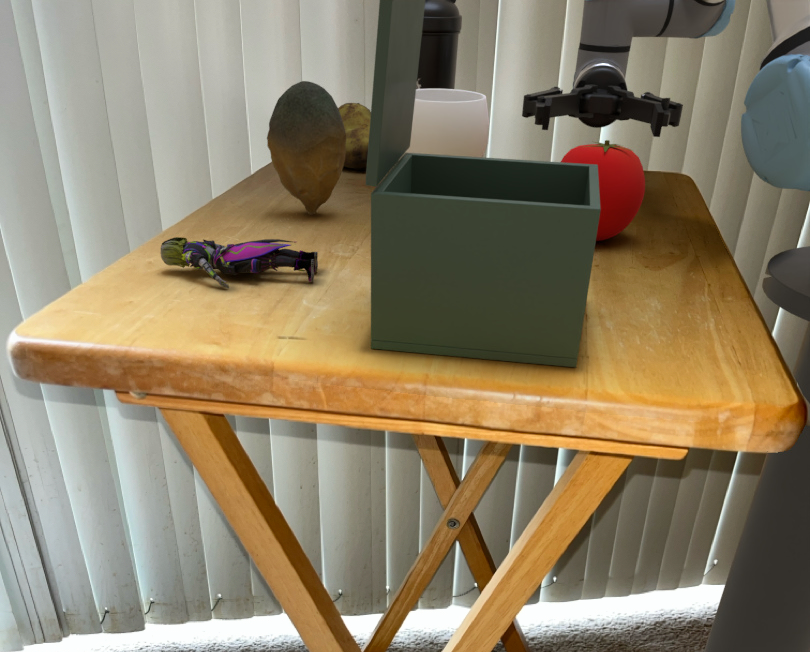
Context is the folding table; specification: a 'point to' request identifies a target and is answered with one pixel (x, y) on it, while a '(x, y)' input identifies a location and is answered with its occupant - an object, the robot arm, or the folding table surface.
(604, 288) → the folding table surface
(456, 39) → the water bottle
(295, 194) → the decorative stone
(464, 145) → the cup
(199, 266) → the character figure
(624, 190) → the tomato
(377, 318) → the storage box
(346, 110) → the potato
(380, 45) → the lid
